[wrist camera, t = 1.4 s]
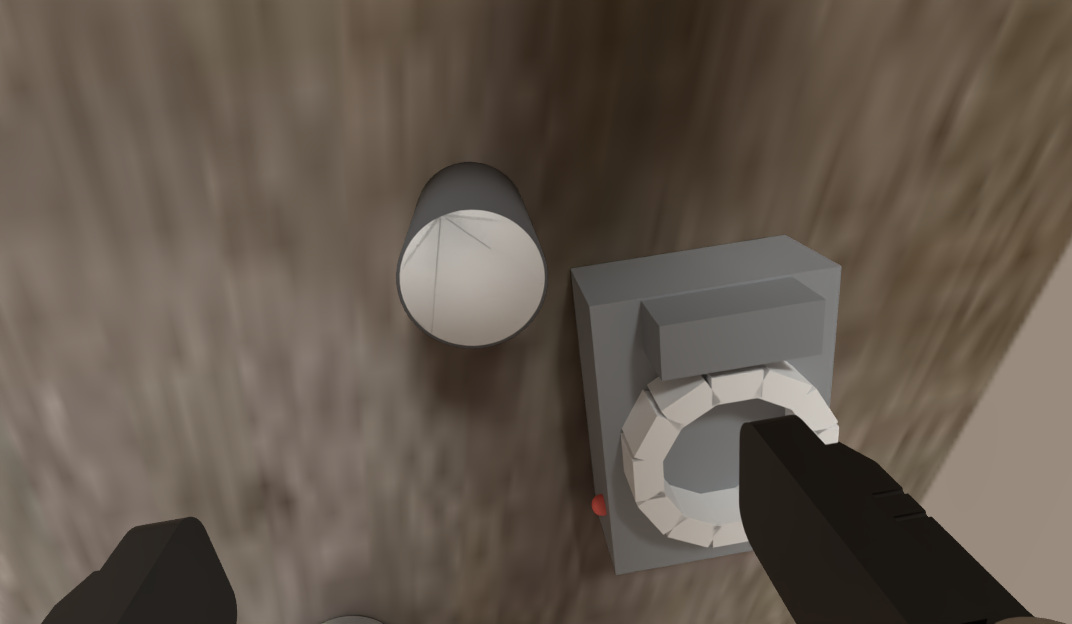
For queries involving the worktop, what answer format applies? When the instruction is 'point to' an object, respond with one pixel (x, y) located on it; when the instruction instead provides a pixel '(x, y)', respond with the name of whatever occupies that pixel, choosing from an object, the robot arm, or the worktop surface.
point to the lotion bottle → (352, 620)
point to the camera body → (696, 385)
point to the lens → (471, 259)
